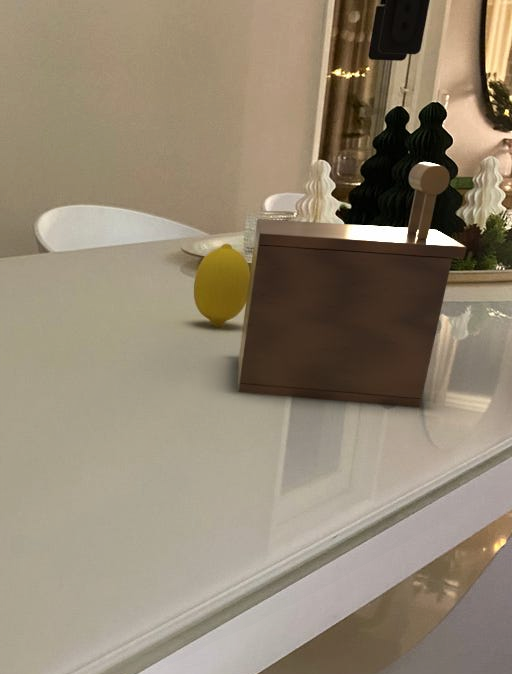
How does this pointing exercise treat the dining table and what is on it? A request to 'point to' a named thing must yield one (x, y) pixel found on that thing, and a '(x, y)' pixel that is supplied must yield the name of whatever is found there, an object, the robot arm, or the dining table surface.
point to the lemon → (221, 284)
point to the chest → (340, 324)
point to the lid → (375, 238)
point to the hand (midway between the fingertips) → (392, 56)
